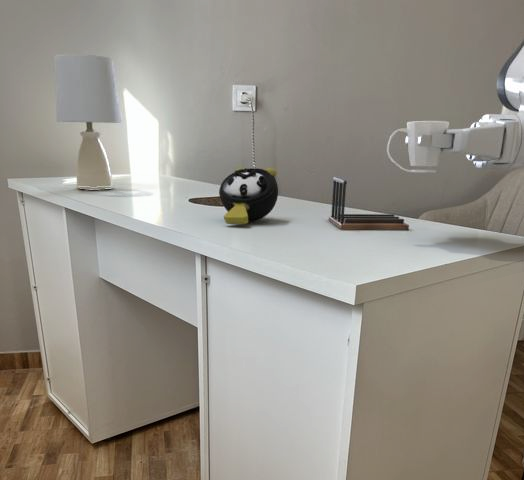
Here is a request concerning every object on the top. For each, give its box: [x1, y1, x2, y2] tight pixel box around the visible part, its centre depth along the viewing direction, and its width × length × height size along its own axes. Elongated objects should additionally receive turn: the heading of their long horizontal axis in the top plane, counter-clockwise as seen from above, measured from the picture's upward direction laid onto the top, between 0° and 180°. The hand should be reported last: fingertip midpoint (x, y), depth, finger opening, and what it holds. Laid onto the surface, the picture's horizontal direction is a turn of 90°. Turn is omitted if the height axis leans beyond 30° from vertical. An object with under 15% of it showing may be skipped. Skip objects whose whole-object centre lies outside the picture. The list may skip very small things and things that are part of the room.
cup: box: [386, 120, 450, 174], centre depth 95 cm, size 7×10×8 cm
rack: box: [328, 176, 410, 231], centre depth 116 cm, size 14×12×9 cm
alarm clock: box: [218, 167, 279, 225], centre depth 118 cm, size 12×15×15 cm
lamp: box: [53, 53, 122, 189], centre depth 169 cm, size 19×19×37 cm
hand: (412, 140), depth 95 cm, fingers closed on cup, 6 cm apart
